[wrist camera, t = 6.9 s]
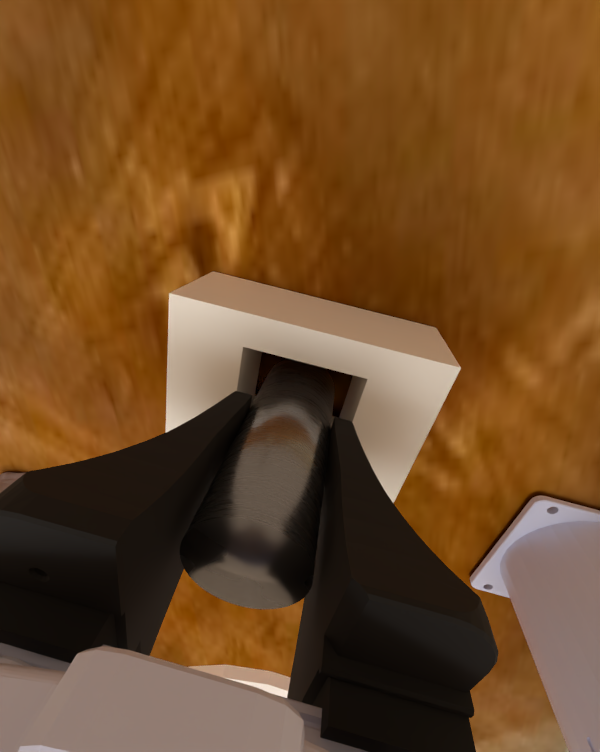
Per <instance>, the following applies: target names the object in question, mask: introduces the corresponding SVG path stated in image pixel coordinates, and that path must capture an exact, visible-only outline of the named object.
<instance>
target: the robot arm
mask: <svg viewBox="0 0 600 752" xmlns="http://www.w3.org/2000/svg"><path fill="white" fill-rule="evenodd" d="M251 400H252V395H250V394H246V393H243V392H239V391H235V392H233V393H231V394H230V395H228V396H227V397H225V398H224V399H222V400H221V401H219V402H218V403H216V404H215V405H213V406H212V407H210V408H209V409H207V410H206V411H204V412H202V413H201V414H199V415H198V416H196V417H194V418H193V419H191V420H189V421H187V422H185V423H183V424H182V425H180V426H178V427H176V428H174V429H172V430H170V431H168V432H166V433H164V434H162V435H159V436H157V437H155V438H152V439H150V440H147V441H145V442H142V443H139V444H136V445H133V446H131V447H128V448H125V449H122V450H119V451H116V452H113V453H109V454H106V455H103V456H99V457H95V458H91V459H87V460H84V461H80V462H75V463H71V464H66V465H61V466H56V467H51V468H46V469H41V470H35V471H29V472H26V473H25V474H24V475H22V476H21V477H20V478H18V479H17V480H16V481H15V482H13V483H12V484H11V485H10V486H8V487H7V488H6V489H5V490H3V491H2V492H1V493H0V752H476V750H475V745H474V741H473V736H472V731H471V727H470V722H469V717H470V718H471V717H472V716H474V707H473V703H472V698H471V694H470V690H471V689H472V688H473V687H474V686H475V685H476V684H477V683H478V682H479V681H480V680H482V679H483V678H484V677H485V676H486V675H487V674H488V673H489V672H490V670H491V669H492V668H493V666H494V665H495V663H496V662H497V657H498V649H497V646H496V643H495V640H494V637H493V633H492V630H491V627H490V623H489V620H488V617H487V615H486V612H485V610H484V607H483V605H482V602H481V599H480V597H479V596H478V595H477V594H476V593H474V592H473V591H472V590H471V589H470V588H469V587H468V586H467V585H466V584H465V583H464V582H463V581H462V580H461V579H459V578H458V577H457V576H456V575H455V574H454V573H453V572H452V571H451V570H450V569H449V568H448V567H447V566H446V565H445V564H444V563H443V562H442V561H441V560H440V559H439V558H438V557H437V556H436V555H435V554H434V553H433V552H432V551H431V549H430V548H429V547H428V546H427V545H426V544H425V543H424V542H423V541H422V539H421V538H420V537H419V536H418V535H417V534H416V532H415V531H414V530H413V529H412V527H411V526H410V525H409V524H408V523H407V521H406V520H405V519H404V518H403V516H402V515H401V514H400V512H399V511H398V510H397V508H396V507H395V505H394V504H393V502H392V501H391V499H390V498H389V496H388V495H387V493H386V492H385V490H384V488H383V487H382V485H381V483H380V482H379V480H378V478H377V476H376V474H375V472H374V471H373V469H372V467H371V465H370V463H369V461H368V458H367V456H366V454H365V452H364V450H363V448H362V445H361V443H360V440H359V438H358V435H357V433H356V430H355V427H354V425H353V423H352V421H348V420H345V419H341V418H337V417H334V421H333V424H332V427H331V430H330V439H329V447H328V456H327V465H326V474H325V482H324V491H323V500H322V508H321V517H320V525H319V534H318V543H317V551H316V560H315V569H314V577H313V584H312V587H311V589H310V591H309V592H308V594H307V595H306V596H305V599H304V605H303V611H302V617H301V622H300V628H299V634H298V640H297V645H296V651H295V657H294V662H293V668H292V673H291V679H290V684H289V690H288V695H287V698H285V697H282V696H278V695H275V694H271V693H269V692H266V691H264V690H262V689H259V688H257V687H253V686H250V685H247V684H243V683H240V682H236V681H233V680H229V679H226V678H223V677H219V676H216V675H212V674H209V673H206V672H202V671H199V670H195V669H192V668H189V667H185V666H182V665H178V664H175V663H172V662H168V661H165V660H161V659H158V658H154V657H151V656H149V655H150V653H151V650H152V648H153V645H154V642H155V640H156V637H157V635H158V632H159V629H160V627H161V624H162V622H163V619H164V617H165V614H166V612H167V609H168V607H169V604H170V602H171V599H172V596H173V594H174V591H175V589H176V586H177V584H178V582H179V579H180V577H181V574H182V572H183V569H184V567H183V565H182V562H181V559H180V554H179V553H180V544H181V541H182V539H183V537H184V535H185V533H186V532H187V530H188V528H189V526H190V524H191V522H192V520H193V518H194V516H195V514H196V512H197V510H198V508H199V506H200V504H201V502H202V501H203V499H204V497H205V495H206V493H207V491H208V489H209V487H210V485H211V483H212V481H213V479H214V477H215V475H216V473H217V472H218V470H219V468H220V466H221V464H222V462H223V460H224V458H225V456H226V454H227V452H228V450H229V448H230V446H231V444H232V443H233V441H234V439H235V437H236V435H237V433H238V431H239V429H240V427H241V425H242V423H243V421H244V419H245V417H246V415H247V413H248V412H249V410H250V406H251ZM550 507H551V508H550ZM470 582H471V585H472V586H473V587H474V588H476V589H479V590H483V591H486V592H490V593H494V594H497V595H501V596H504V597H508V598H510V599H511V602H512V604H513V607H514V610H515V612H516V615H517V617H518V620H519V623H520V625H521V628H522V630H523V633H524V636H525V638H526V641H527V643H528V646H529V649H530V651H531V654H532V656H533V659H534V662H535V664H536V667H537V669H538V672H539V675H540V677H541V680H542V683H543V685H544V688H545V690H546V693H547V696H548V698H549V701H550V703H551V706H552V709H553V711H554V714H555V716H556V719H557V722H558V724H559V727H560V729H561V732H562V735H563V737H564V740H565V742H566V745H567V748H568V750H569V752H600V510H596V509H592V508H588V507H585V506H581V505H577V504H573V503H570V502H566V501H562V500H558V499H555V498H551V497H547V496H541V495H540V496H535V497H533V498H532V499H531V500H530V501H529V502H528V504H527V505H526V506H525V507H524V509H523V510H522V511H521V513H520V514H519V515H518V516H517V518H516V519H515V520H514V522H513V523H512V524H511V525H510V527H509V528H508V529H507V530H506V532H505V533H504V534H503V536H502V537H501V538H500V539H499V541H498V542H497V543H496V545H495V546H494V547H493V548H492V550H491V551H490V552H489V554H488V555H487V556H486V557H485V559H484V560H483V561H482V563H481V564H480V565H479V566H478V568H477V569H476V570H475V572H474V573H473V574H472V575H471V577H470Z"/></svg>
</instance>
